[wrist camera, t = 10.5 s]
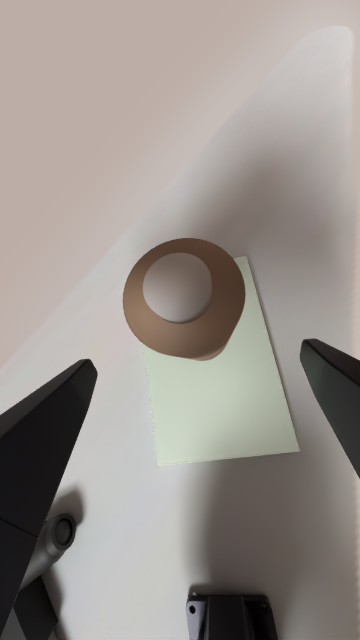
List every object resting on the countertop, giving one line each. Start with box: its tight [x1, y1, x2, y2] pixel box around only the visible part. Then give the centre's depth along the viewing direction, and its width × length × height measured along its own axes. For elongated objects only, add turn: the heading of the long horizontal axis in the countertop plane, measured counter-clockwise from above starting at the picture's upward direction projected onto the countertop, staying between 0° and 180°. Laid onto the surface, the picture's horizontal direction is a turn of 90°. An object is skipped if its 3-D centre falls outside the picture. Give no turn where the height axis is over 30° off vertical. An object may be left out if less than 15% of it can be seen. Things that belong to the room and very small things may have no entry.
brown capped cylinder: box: [123, 238, 246, 361], centre depth 13 cm, size 5×5×12 cm
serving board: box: [143, 255, 300, 466], centre depth 19 cm, size 18×12×1 cm, turn 9°
